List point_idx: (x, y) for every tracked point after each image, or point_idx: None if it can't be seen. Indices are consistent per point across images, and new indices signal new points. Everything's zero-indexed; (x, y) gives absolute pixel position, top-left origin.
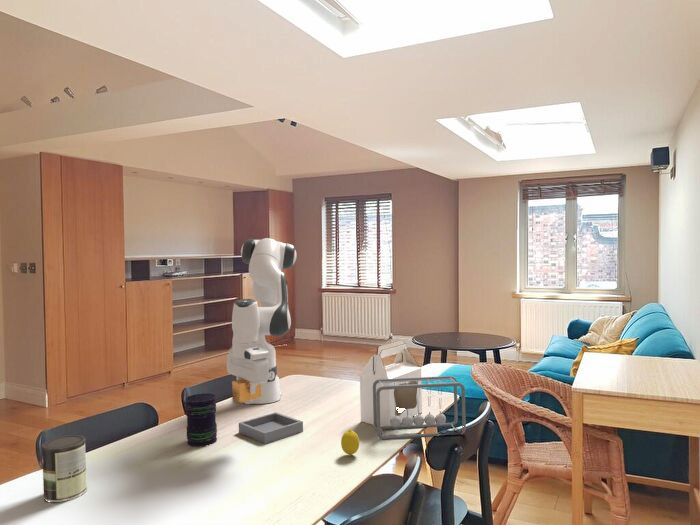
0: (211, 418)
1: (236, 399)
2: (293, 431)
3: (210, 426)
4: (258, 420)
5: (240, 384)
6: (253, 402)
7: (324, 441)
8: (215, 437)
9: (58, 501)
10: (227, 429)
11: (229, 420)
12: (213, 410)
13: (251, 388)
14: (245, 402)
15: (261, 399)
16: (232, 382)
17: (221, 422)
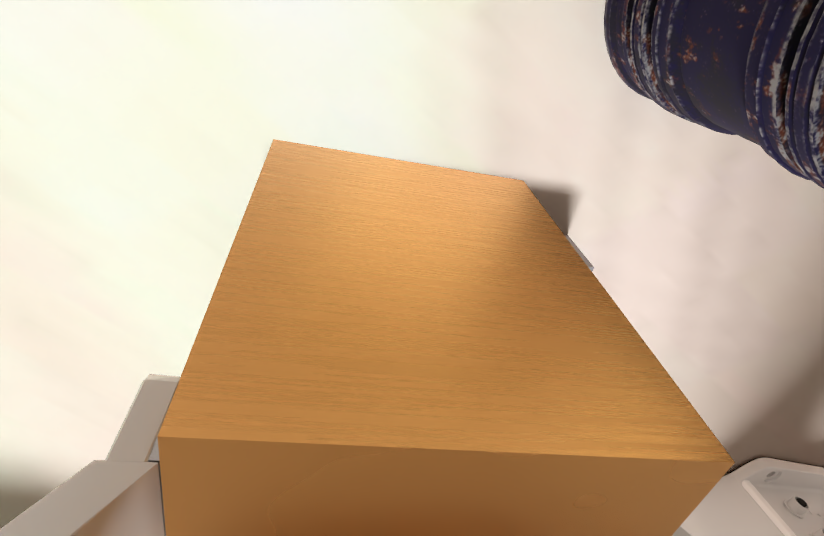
0: (733, 39)
1: (394, 171)
2: None
3: (690, 11)
4: None
5: (166, 438)
6: (731, 479)
7: (64, 394)
8: (625, 57)
9: None
10: (664, 232)
11: (728, 316)
12: (777, 85)
13: (65, 485)
14: (767, 463)
15: (705, 506)
16: (691, 422)
17: (756, 278)
